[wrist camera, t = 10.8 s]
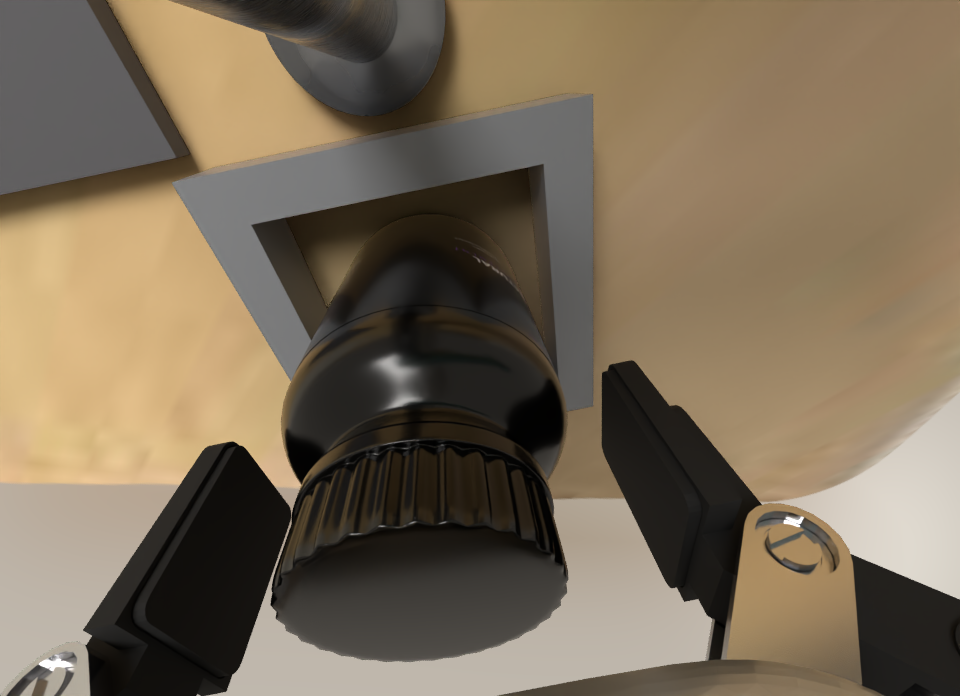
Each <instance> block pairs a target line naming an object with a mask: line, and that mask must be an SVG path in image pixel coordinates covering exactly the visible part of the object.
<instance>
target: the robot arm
mask: <svg viewBox="0 0 960 696" xmlns="http://www.w3.org/2000/svg"><path fill="white" fill-rule="evenodd" d="M602 449H603V452H604V455H605V458H606V460H607V462H608V464H609V466H610V468H611V470H612V472H613V474H614V476H615V478H616V480H617V483H618V485H619V487H620V489H621V491H622V493H623V495H624V497H625V499H626V501H627V503H628V505H629V507H630V509H631V511H632V513H633V516H634V518H635V519H636V522H637V523H638V526H639V528H640V530H641V532H642V534H643V536H644V538H645V540H646V542H647V544H648V546H649V548H650V551H651V553H652V555H653V557H654V559H655V561H656V563H657V565H658V567H659V569H660V571H661V573H662V575H663V577H664V579H665V581H666V583H667V584H668V586H669V587H670V588H675V587H677V588H678V590H679V592H680V594H681V596H682V598H683V600H684V602H685V601H690V600H695V599H699V601H700V603H701V605H702V607H703V608H704V610H705V612H706V614H707V615H708V616H709V617H711V618H712V624H711V631H710V636H709V642H708V649H707V654H706V660H705V661H700V662H690V663H681V664H672V665H666V666H660V667H654V668H648V669H642V670H636V671H630V672H624V673H619V674H612V675H607V676H601V677H595V678H589V679H583V680H578V681H573V682H567V683H562V684H557V685H551V686H547V687H542V688H536V689H531V690H526V691H520V692H515V693H509V694H504V695H499V696H960V600H959V599H957V598H955V597H952V596H950V595H947V594H945V593H943V592H940V591H938V590H935V589H932V588H931V587H928V586H926V585H923V584H921V583H919V582H916V581H914V580H911V579H909V578H907V577H904V576H902V575H899V574H897V573H895V572H892V571H890V570H887V569H885V568H883V567H880V566H878V565H876V564H873V563H871V562H868V561H866V560H863V559H861V558H859V557H856V556H854V555H852V554H850V551H849V549H848V547H847V546H846V544H845V543H844V541H843V540H842V538H841V537H840V535H838V534H837V533H836V532H835V531H834V530H833V529H832V528H831V527H830V526H829V525H828V524H827V523H825V522H824V521H822V520H821V519H819V518H818V517H816V516H815V515H813V514H811V513H809V512H806V511H804V510H802V509H799V508H797V507H794V506H789V505H785V504H764V505H762V504H761V503H760V502H759V501H758V499H757V498H756V497H755V496H754V495H753V493H752V492H751V491H750V490H749V488H748V487H747V486H746V485H745V484H744V482H743V481H742V480H741V479H740V477H739V476H738V475H737V474H736V473H735V471H734V470H733V469H732V468H731V466H730V465H729V464H728V463H727V462H726V460H725V459H724V458H723V457H722V455H721V454H720V453H719V452H718V451H717V449H716V448H715V447H714V446H713V444H712V443H711V442H710V441H709V440H708V438H707V437H706V436H705V435H704V433H703V432H702V431H701V430H700V429H699V427H698V426H697V425H696V424H695V422H694V421H693V420H692V419H691V418H690V416H689V415H688V414H687V413H686V412H685V411H684V410H683V409H682V408H681V407H679V406H677V405H674V406H669V405H668V403H667V402H666V401H665V400H664V398H663V397H662V396H661V394H660V393H659V392H658V391H657V389H656V388H655V387H654V385H653V384H652V383H651V382H650V380H649V379H648V378H647V377H646V375H645V374H644V373H643V371H642V370H641V369H640V368H639V366H638V365H637V364H636V363H635V362H634V361H632V360H631V361H626V362H621V363H616V364H611V365H609V368H608V371H605V372H603V373H602ZM290 520H291V510H290V507H289V505H288V504H287V503H286V501H285V500H284V499H283V498H282V496H281V495H280V493H279V492H278V491H277V489H276V488H275V487H274V485H273V484H272V483H271V481H270V480H269V479H268V477H267V476H266V475H265V474H264V472H263V471H262V470H261V468H260V467H259V466H258V464H257V463H256V462H255V460H254V459H253V458H252V456H251V455H250V454H249V452H248V451H247V450H246V449H245V448H244V447H243V446H239V445H238V444H237V443H235V442H227V443H222V444H217V445H212V446H208V447H206V448H205V449H204V450H203V451H202V453H201V454H200V456H199V457H198V459H197V460H196V462H195V463H194V465H193V466H192V468H191V469H190V471H189V472H188V474H187V475H186V477H185V478H184V480H183V481H182V483H181V484H180V486H179V487H178V489H177V490H176V492H175V493H174V495H173V496H172V498H171V499H170V501H169V502H168V504H167V505H166V507H165V508H164V510H163V511H162V513H161V514H160V516H159V517H158V519H157V520H156V522H155V523H154V525H153V526H152V528H151V529H150V531H149V532H148V534H147V535H146V537H145V538H144V540H143V541H142V543H141V544H140V546H139V547H138V549H137V550H136V552H135V553H134V555H133V556H132V558H131V559H130V561H129V562H128V564H127V565H126V567H125V568H124V570H123V571H122V573H121V574H120V576H119V577H118V579H117V580H116V582H115V583H114V585H113V586H112V588H111V589H110V591H109V592H108V594H107V595H106V597H105V598H104V600H103V601H102V603H101V604H100V606H99V607H98V609H97V610H96V612H95V613H94V615H93V616H92V618H91V619H90V621H89V622H88V624H87V625H86V626H85V628H84V629H83V631H85V632H87V633H89V634H90V635H92V637H91V639H90V640H89V642H88V644H87V645H84V644H82V643H80V642H78V641H77V642H68V643H65V644H62V645H60V646H58V647H55V648H53V649H51V650H50V651H49V652H47V653H45V654H43V655H42V656H40V657H39V658H37V659H36V660H35V661H34V662H32V663H31V664H30V665H29V666H27V667H26V668H25V669H24V670H22V672H21V673H19V675H18V676H17V677H16V678H15V679H14V680H13V681H12V682H11V683H10V684H9V685H8V686H7V687H6V688H5V689H4V691H3V692H2V693H1V694H0V696H196V695H197V694H199V695H201V696H206V695H211V694H217V693H221V692H226V691H227V688H228V685H229V683H230V680H231V677H232V674H234V673H235V672H236V671H237V670H238V668H239V667H240V664H241V662H242V659H243V657H244V654H245V651H246V648H247V644H248V642H249V639H250V636H251V633H252V630H253V627H254V625H255V622H256V619H257V616H258V613H259V610H260V607H261V604H262V601H263V599H264V596H265V593H266V590H267V587H268V584H269V581H270V578H271V575H272V572H273V569H274V566H275V564H276V561H277V558H278V555H279V552H280V549H281V546H282V544H283V541H284V538H285V535H286V532H287V529H288V526H289V523H290Z"/></svg>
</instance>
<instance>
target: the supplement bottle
mask: <svg viewBox="0 0 960 696" xmlns="http://www.w3.org/2000/svg"><path fill="white" fill-rule="evenodd" d="M566 431H567V407H566V401H565V397H564V394H563V390H562V387H561V384H560V381H559V378H558V376H557V373H556V371H555V369H554V366H553V364H552V362H551V359H550V357H549V354H548V352H547V350H546V347H545V345H544V343H543V340H542V338H541V336H540V333H539V331H538V329H537V326H536V324H535V321H534V319H533V317H532V314H531V312H530V310H529V307H528V305H527V303H526V300H525V298H524V295H523V293H522V291H521V288H520V286H519V284H518V281H517V279H516V277H515V274H514V272H513V270H512V268H511V266H510V263H509V261H508V260H507V258H506V256H505V254H504V253H503V252H502V250H501V249H500V247H499V246H498V245H497V244H496V243H495V241H494V240H493V239H492V238H490V237H489V236H488V235H487V234H486V233H485V232H483V231H482V230H481V229H479V228H477V227H476V226H474V225H472V224H470V223H468V222H466V221H463V220H461V219H458V218H455V217H451V216H446V215H439V214H421V215H414V216H409V217H406V218H402V219H399V220H397V221H394V222H392V223H390V224H388V225H386V226H385V227H383V228H382V229H380V230H379V231H378V232H376V233H375V234H374V235H373V236H372V237H371V238H370V239H369V240H368V241H367V242H366V243H365V244H364V246H363V247H362V248H361V249H360V251H359V253H358V254H357V256H356V257H355V259H354V261H353V263H352V264H351V266H350V268H349V270H348V272H347V274H346V276H345V277H344V279H343V281H342V283H341V285H340V287H339V289H338V291H337V293H336V295H335V297H334V298H333V300H332V302H331V304H330V306H329V308H328V310H327V312H326V314H325V316H324V318H323V319H322V321H321V323H320V325H319V327H318V329H317V331H316V333H315V335H314V337H313V339H312V340H311V342H310V344H309V346H308V348H307V350H306V352H305V354H304V356H303V358H302V360H301V362H300V363H299V365H298V367H297V370H296V372H295V374H294V376H293V378H292V381H291V383H290V385H289V388H288V390H287V393H286V396H285V399H284V403H283V409H282V416H281V432H282V439H283V445H284V449H285V452H286V456H287V459H288V462H289V464H290V466H291V468H292V470H293V472H294V474H295V476H296V478H297V479H298V481H299V482H300V484H301V488H300V490H299V493H298V495H297V498H296V501H295V504H294V508H293V512H292V525H291V528H290V530H289V533H288V536H287V539H286V542H285V545H284V548H283V551H282V554H281V556H280V559H279V562H278V565H277V568H276V571H275V574H274V578H273V583H272V592H273V593H272V598H271V606H272V607H273V609H274V610H275V611H276V612H277V613H276V619H277V620H278V621H280V622H281V623H283V624H284V625H285V628H286V631H288V632H290V633H292V634H294V635H297V636H298V638H299V639H300V640H301V641H303V642H306V643H309V644H312V645H315V646H316V647H317V648H319V649H321V650H325V651H331V652H334V653H336V654H338V655H341V656H349V657H350V656H351V657H355V658H359V659H362V660H378V661H384V662H392V661H403V662H413V661H421V660H438V659H442V658H453V657H459V656H462V655H465V654H470V653H477V652H481V651H483V650H485V649H488V648H493V647H497V646H500V645H502V644H504V643H506V642H507V641H511V640H514V639H517V638H519V637H520V636H522V635H523V634H524V633H526V632H528V631H531V630H533V629H535V628H536V627H537V626H538V625H539V624H540V623H541V622H543V621H545V620H547V619H548V618H550V616H551V614H552V612H553V611H554V610H555V609H557V608H558V607H559V606H560V605H561V599H562V598H563V597H564V595H565V594H566V593H567V587H566V583H567V581H568V570H567V565H566V561H565V557H564V553H563V549H562V546H561V542H560V538H559V535H558V531H557V528H556V524H555V520H554V517H553V514H554V505H553V499H552V495H551V492H550V488H549V485H548V481H547V480H548V479H549V477H550V476H551V474H552V472H553V471H554V469H555V467H556V465H557V463H558V461H559V458H560V456H561V453H562V450H563V446H564V442H565V438H566Z"/></svg>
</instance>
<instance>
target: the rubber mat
mask: <svg viewBox="0 0 960 696" xmlns="http://www.w3.org/2000/svg"><path fill="white" fill-rule="evenodd" d="M189 154H190V153H189V151H188V149H187V147H186V145H185V144H184V142H183V140H182V138H181V136H180V135H179V133H178V131H177V129H176V127H175V125H174V124H173V122H172V120H171V118H170V116H169V115H168V113H167V111H166V109H165V107H164V106H163V104H162V102H161V100H160V98H159V96H158V95H157V93H156V91H155V89H154V87H153V86H152V84H151V82H150V80H149V78H148V77H147V75H146V73H145V71H144V69H143V67H142V66H141V64H140V62H139V60H138V58H137V57H136V55H135V53H134V51H133V49H132V48H131V46H130V44H129V42H128V40H127V38H126V37H125V35H124V33H123V31H122V29H121V28H120V26H119V24H118V22H117V20H116V19H115V17H114V15H113V13H112V11H111V9H110V8H109V6H108V4H107V2H106V0H0V195H3V194H7V193H12V192H17V191H22V190H26V189H31V188H36V187H41V186H45V185H50V184H55V183H60V182H64V181H69V180H74V179H79V178H83V177H88V176H93V175H98V174H102V173H107V172H112V171H117V170H121V169H126V168H131V167H136V166H140V165H145V164H150V163H155V162H159V161H164V160H169V159H174V158H178V157H182V156H186V155H189Z"/></svg>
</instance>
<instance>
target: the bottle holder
mask: <svg viewBox="0 0 960 696" xmlns="http://www.w3.org/2000/svg"><path fill="white" fill-rule="evenodd" d="M527 167H528V172H529V183H530V194H531V205H532V216H533V227H534V238H535V249H536V260H537V271H538V282H539V293H540V304H541V315H542V326H543V337H544V345H545V347H546V350H547V352H548V354H549V357H550V359H551V362H552V364H553V366H554V369H555V371H556V373H557V376H558V378H559V381H560V384H561V387H562V390H563V394H564V397H565V401H566V407H567V411H571V410H577V409H582V408H587V407H592V406H593V94H570V93H566V94H562V95H557V96H552V97H547V98H543V99H538V100H533V101H528V102H524V103H519V104H514V105H509V106H504V107H500V108H495V109H490V110H485V111H481V112H476V113H471V114H466V115H462V116H457V117H452V118H447V119H443V120H438V121H433V122H428V123H424V124H419V125H414V126H409V127H405V128H400V129H395V130H390V131H385V132H381V133H376V134H371V135H366V136H362V137H357V138H352V139H347V140H343V141H338V142H333V143H328V144H324V145H319V146H314V147H309V148H305V149H300V150H295V151H290V152H285V153H281V154H276V155H271V156H266V157H262V158H257V159H252V160H247V161H243V162H238V163H233V164H228V165H224V166H219V167H214V168H211V169H208V170H206V171H203V172H200V173H197V174H194V175H191V176H189V177H186V178H183V179H180V180H177V181H175V182H172V184H173V186H174V188H175V189H176V191H177V193H178V194H179V196H180V198H181V199H182V201H183V203H184V204H185V206H186V208H187V209H188V211H189V213H190V214H191V216H192V218H193V219H194V221H195V223H196V224H197V226H198V228H199V229H200V231H201V233H202V234H203V236H204V238H205V239H206V241H207V243H208V244H209V246H210V248H211V249H212V251H213V253H214V254H215V256H216V258H217V259H218V261H219V263H220V264H221V266H222V268H223V269H224V271H225V272H226V274H227V276H228V277H229V279H230V281H231V282H232V284H233V286H234V287H235V289H236V291H237V292H238V294H239V296H240V297H241V299H242V301H243V302H244V304H245V306H246V307H247V309H248V311H249V312H250V314H251V316H252V317H253V319H254V321H255V322H256V324H257V326H258V327H259V329H260V331H261V332H262V334H263V336H264V337H265V339H266V341H267V342H268V344H269V346H270V347H271V349H272V351H273V352H274V354H275V356H276V357H277V359H278V361H279V362H280V364H281V366H282V367H283V369H284V371H285V372H286V374H287V376H288V377H289V379H290V381H292V378H293V376H294V374H295V372H296V370H297V367H298V365H299V363H300V362H301V360H302V358H303V356H304V354H305V352H306V350H307V348H308V346H309V344H310V342H311V340H312V339H313V337H314V335H315V333H316V331H317V329H318V327H319V325H320V323H321V321H322V319H323V318H324V316H325V314H326V312H327V308H326V305H325V303H324V301H323V299H322V297H321V295H320V292H319V290H318V288H317V286H316V284H315V282H314V279H313V277H312V275H311V273H310V271H309V269H308V266H307V264H306V262H305V260H304V258H303V256H302V254H301V251H300V249H299V247H298V245H297V243H296V241H295V238H294V236H293V234H292V232H291V230H290V228H289V225H288V223H287V221H286V219H285V218H286V217H291V216H296V215H300V214H305V213H310V212H315V211H320V210H324V209H329V208H334V207H339V206H344V205H349V204H353V203H358V202H363V201H368V200H373V199H377V198H382V197H387V196H392V195H397V194H401V193H406V192H411V191H416V190H421V189H426V188H430V187H435V186H440V185H445V184H450V183H454V182H459V181H464V180H469V179H474V178H479V177H483V176H488V175H493V174H498V173H503V172H507V171H512V170H517V169H522V168H527Z"/></svg>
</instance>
